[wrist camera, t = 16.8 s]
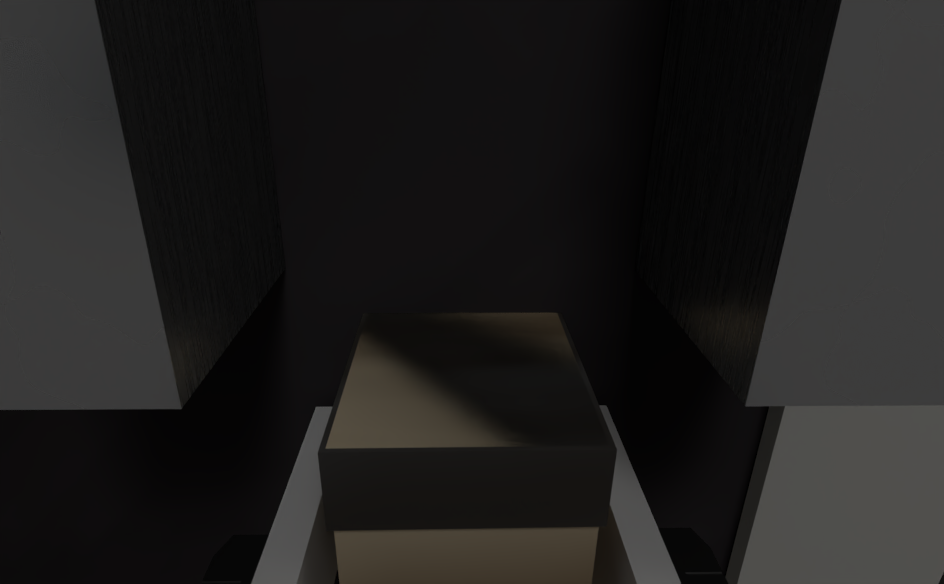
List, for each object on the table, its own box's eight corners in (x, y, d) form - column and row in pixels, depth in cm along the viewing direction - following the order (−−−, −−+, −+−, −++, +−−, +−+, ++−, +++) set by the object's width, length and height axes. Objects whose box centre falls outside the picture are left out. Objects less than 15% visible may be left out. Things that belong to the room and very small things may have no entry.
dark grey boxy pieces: (-77, -332, 9) (-739, -803, 4) (977, -291, 10) (1549, -652, 5) (81, 267, 13) (-154, 410, 8) (825, 270, 14) (1045, 404, 9)
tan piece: (363, 312, 14) (317, 452, 9) (561, 312, 14) (617, 449, 9) (381, 588, 17) (355, 791, 13) (539, 584, 17) (571, 784, 13)
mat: (794, 309, 14) (808, 320, 13) (1034, 310, 14) (1058, 320, 14) (718, 604, 18) (726, 622, 17) (907, 601, 18) (922, 618, 18)
